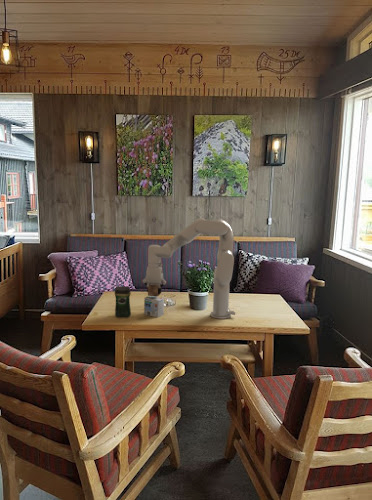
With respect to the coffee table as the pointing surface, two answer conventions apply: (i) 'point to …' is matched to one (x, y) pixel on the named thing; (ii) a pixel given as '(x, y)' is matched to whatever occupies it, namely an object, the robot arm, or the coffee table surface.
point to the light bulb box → (154, 306)
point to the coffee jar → (122, 301)
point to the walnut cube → (153, 290)
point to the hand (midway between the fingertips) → (154, 293)
